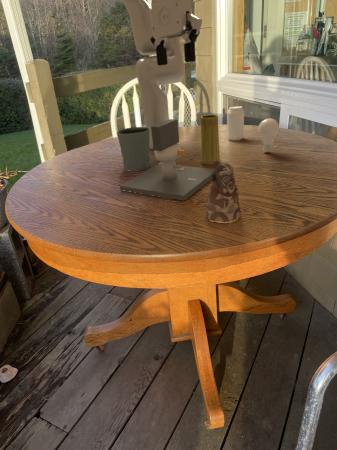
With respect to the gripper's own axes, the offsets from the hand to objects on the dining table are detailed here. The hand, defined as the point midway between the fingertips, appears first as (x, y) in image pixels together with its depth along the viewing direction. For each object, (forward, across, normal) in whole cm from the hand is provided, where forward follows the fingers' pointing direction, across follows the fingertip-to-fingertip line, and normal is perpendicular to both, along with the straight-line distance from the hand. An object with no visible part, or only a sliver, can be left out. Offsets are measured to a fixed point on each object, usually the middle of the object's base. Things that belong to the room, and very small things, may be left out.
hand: (175, 63), depth 82 cm
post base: (+30, +1, -7) cm, 31 cm away
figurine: (+31, +25, -16) cm, 43 cm away
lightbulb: (+30, +10, +30) cm, 43 cm away
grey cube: (+22, +2, -7) cm, 24 cm away
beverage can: (+29, -10, +41) cm, 51 cm away
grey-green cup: (+29, -19, -2) cm, 35 cm away
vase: (+30, 0, +13) cm, 32 cm away
